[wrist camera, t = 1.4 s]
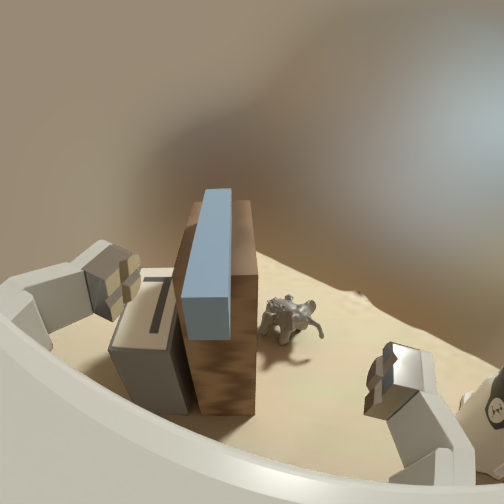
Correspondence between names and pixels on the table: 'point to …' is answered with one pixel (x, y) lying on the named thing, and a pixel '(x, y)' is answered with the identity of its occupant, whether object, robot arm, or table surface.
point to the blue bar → (210, 270)
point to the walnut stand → (241, 323)
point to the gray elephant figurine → (288, 317)
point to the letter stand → (153, 346)
